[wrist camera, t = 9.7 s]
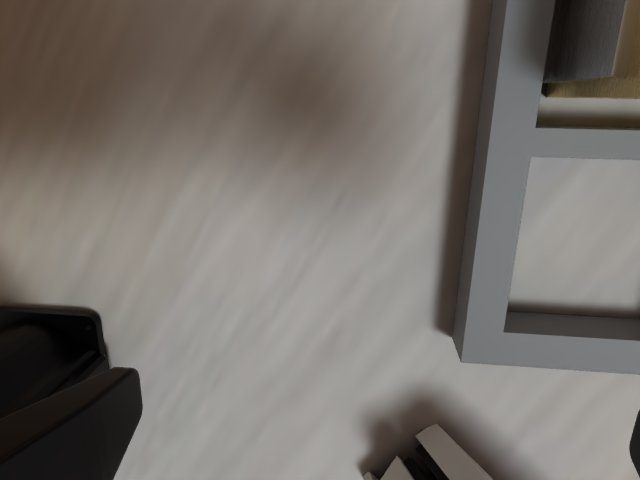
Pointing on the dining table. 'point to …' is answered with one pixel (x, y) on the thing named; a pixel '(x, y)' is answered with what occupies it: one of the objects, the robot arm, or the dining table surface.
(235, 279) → the dining table surface
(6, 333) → the robot arm
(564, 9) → the metal-backed wooden cube
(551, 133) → the gray rectangular tray
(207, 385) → the dining table surface
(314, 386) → the dining table surface
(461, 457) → the grey arched block
